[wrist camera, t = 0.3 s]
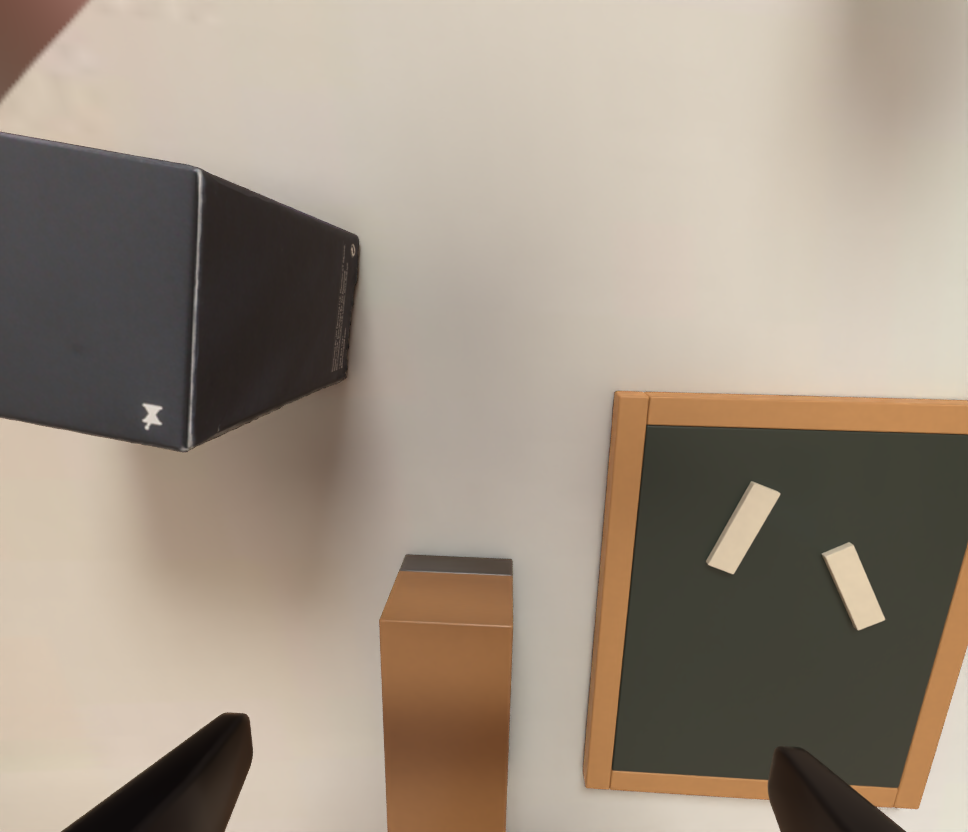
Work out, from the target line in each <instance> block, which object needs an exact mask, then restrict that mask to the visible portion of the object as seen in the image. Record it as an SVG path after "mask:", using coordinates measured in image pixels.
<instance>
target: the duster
mask: <svg viewBox="0 0 968 832" xmlns="http://www.w3.org/2000/svg"><path fill="white" fill-rule="evenodd" d="M379 627H380V652H381V677H382V702H383V728H384V753H385V778H386V803H387V828H388V832H506V806H507V779H508V752H509V725H510V698H511V670H512V643H513V561H512V559H496V558H473V557H449V556H426V555H405V558H404V560H403V563H402V565H401V568H400V570H399V572H398V575H397V577H396V580H395V582H394V585H393V587H392V590H391V592H390V595H389V597H388V600H387V602H386V605H385V607H384V610H383V612H382V615H381V617H380V620H379Z"/></svg>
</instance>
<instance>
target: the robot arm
mask: <svg viewBox="0 0 968 832" xmlns="http://www.w3.org/2000/svg"><path fill="white" fill-rule="evenodd" d="M252 757H253V746H252V737H251V728H250V720H249V717H248V715H247V714H244V713H228V712H227V713H223V714H221V715H220V716H218V717H217V718H215V719H214V720H213V721H211V722H210V723H209V724H207V725H206V726H204V727H203V728H202V729H200V730H199V731H198V732H196V733H195V734H194V735H192V736H191V737H189V738H188V739H187V740H185V741H184V742H183V743H181V744H180V745H179V746H177V747H176V748H174V749H173V750H172V751H170V752H169V753H168V754H166V755H165V756H164V757H162V758H161V759H159V760H158V761H157V762H155V763H154V764H153V765H151V766H150V767H149V768H147V769H146V770H144V771H143V772H142V773H140V774H139V775H138V776H136V777H135V778H134V779H132V780H131V781H130V782H128V783H127V784H125V785H124V786H123V787H121V788H120V789H119V790H117V791H116V792H115V793H113V794H112V795H110V796H109V797H108V798H106V799H105V800H104V801H102V802H101V803H100V804H98V805H97V806H95V807H94V808H93V809H91V810H90V811H89V812H87V813H86V814H85V815H83V816H82V817H80V818H79V819H78V820H76V821H75V822H74V823H72V824H71V825H70V826H68V827H67V828H65V829H64V830H63V831H61V832H225V829H226V827H227V824H228V822H229V819H230V817H231V814H232V812H233V809H234V807H235V804H236V801H237V799H238V796H239V794H240V791H241V789H242V786H243V784H244V781H245V779H246V776H247V774H248V771H249V769H250V766H251V762H252ZM768 796H769V800H770V803H771V806H772V809H773V811H774V814H775V817H776V820H777V823H778V825H779V828H780V831H781V832H906V831H905V830H903V829H902V828H901V827H900V826H899V825H897V824H896V823H895V822H894V821H892V820H891V819H890V818H889V817H888V816H886V815H885V814H884V813H883V812H881V811H880V810H879V809H878V808H877V807H875V806H874V805H873V804H872V803H870V802H869V801H868V800H867V799H866V798H864V797H863V796H862V795H861V794H859V793H858V792H857V791H856V790H855V789H853V788H852V787H851V786H850V785H848V784H847V783H846V782H845V781H844V780H842V779H841V778H840V777H839V776H837V775H836V774H835V773H834V772H833V771H831V770H830V769H829V768H828V767H826V766H825V765H824V764H823V763H822V762H820V761H819V760H818V759H817V758H815V757H814V756H813V755H812V754H811V753H809V752H808V751H807V750H805V749H803V748H801V747H792V746H777V747H776V748H775V750H774V753H773V758H772V763H771V768H770V773H769V779H768Z"/></svg>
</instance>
